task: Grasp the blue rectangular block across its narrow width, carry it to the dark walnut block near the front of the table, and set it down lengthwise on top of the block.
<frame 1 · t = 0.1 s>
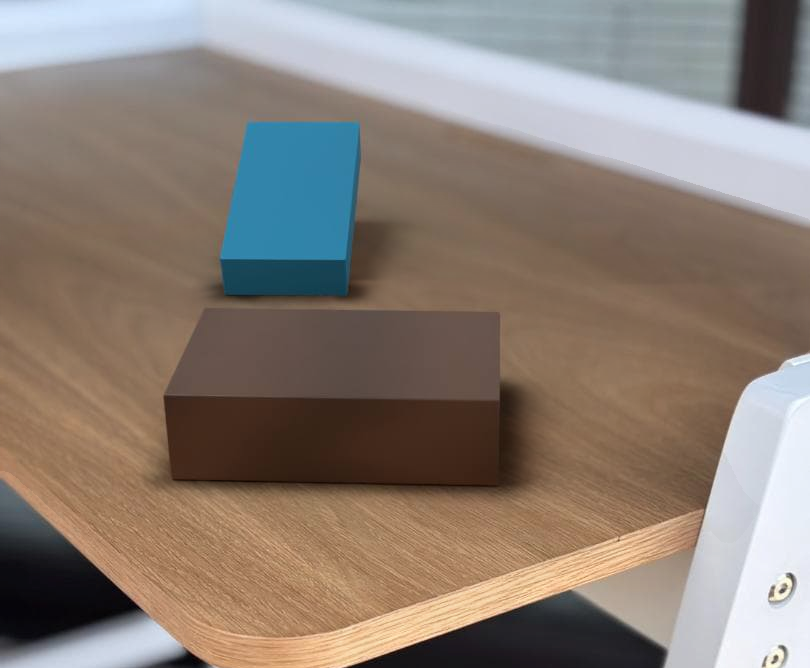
walnut block: (343, 431, 68), on the table
blue rectangular block: (300, 246, 91), on the table
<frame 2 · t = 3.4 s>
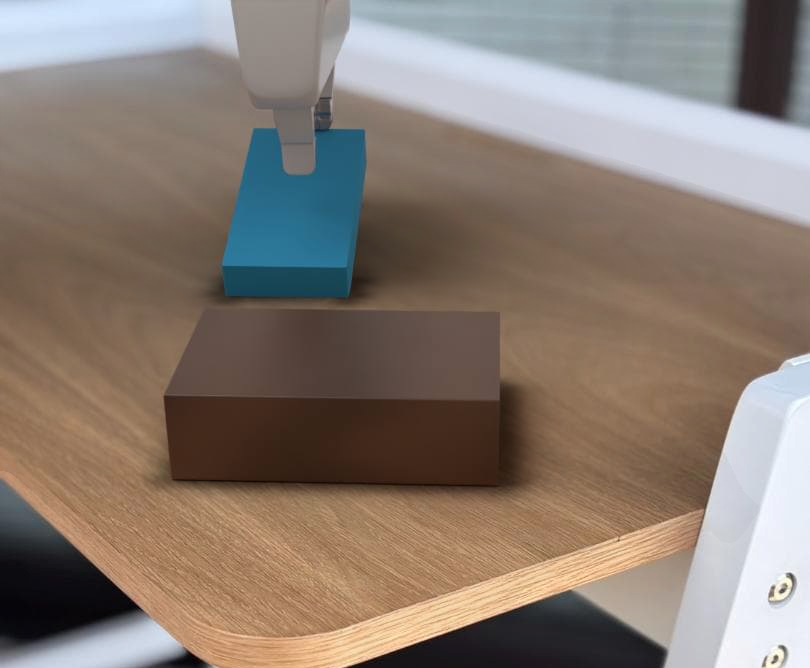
hand: (310, 148, 88), 6 cm above the table, tool pointing down, fingers open, 8 cm apart
blue rectangular block: (305, 253, 91), on the table, touching gripper
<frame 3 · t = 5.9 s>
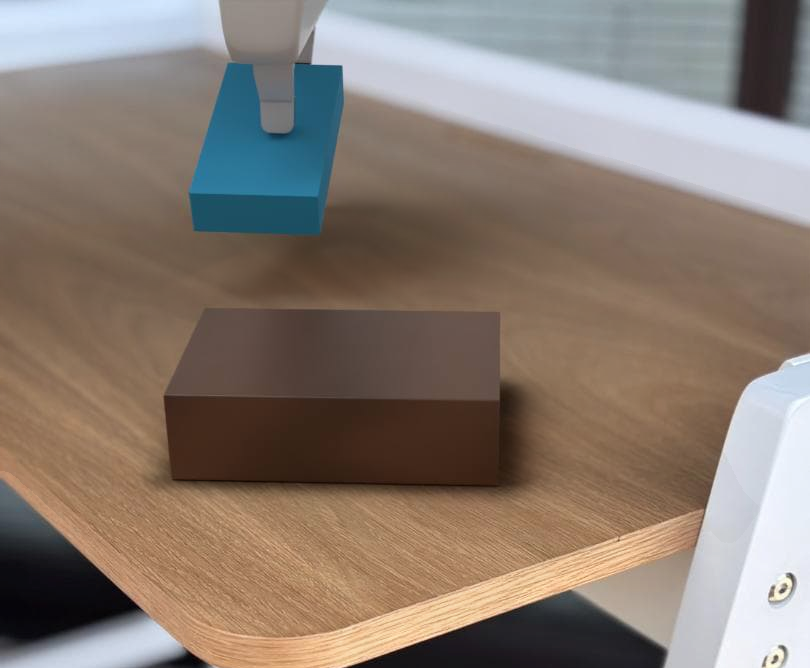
hand: (288, 111, 87), 8 cm above the table, tool pointing down, fingers closed on blue rectangular block, 7 cm apart
blue rectangular block: (278, 191, 89), point 3 cm above the table, touching gripper
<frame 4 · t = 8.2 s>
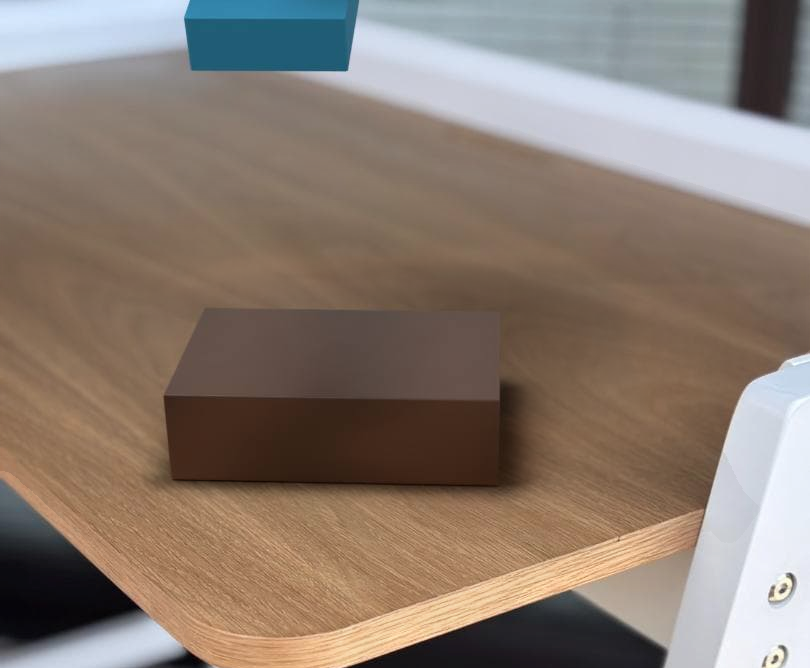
blue rectangular block: (293, 36, 73), point 15 cm above the table, touching gripper
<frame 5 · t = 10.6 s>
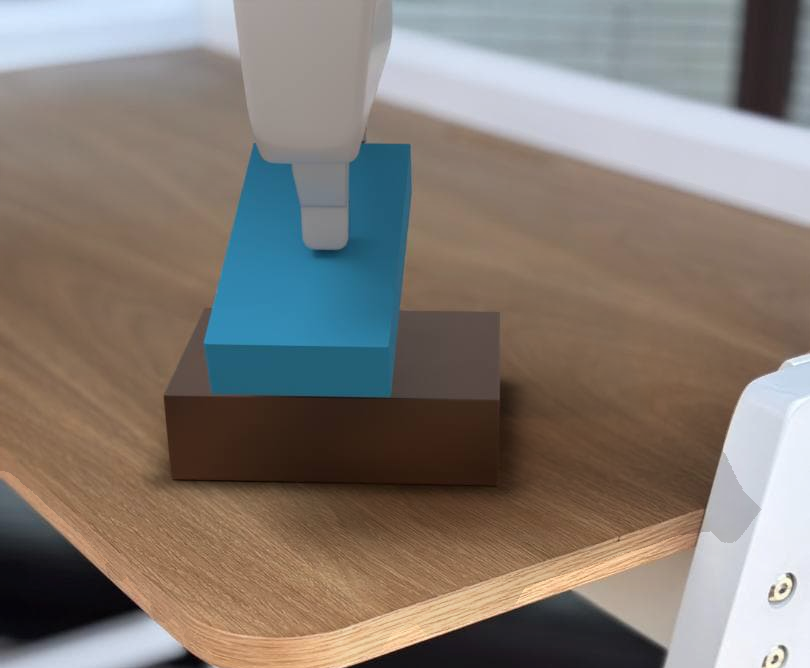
hand: (337, 211, 63), 10 cm above the table, tool pointing down, fingers closed on blue rectangular block, 7 cm apart
blue rectangular block: (325, 318, 65), point 6 cm above the table, touching gripper
when the fingers open (8 cm above the table, at t = 12.1 s): blue rectangular block stays where it is, resting on walnut block.
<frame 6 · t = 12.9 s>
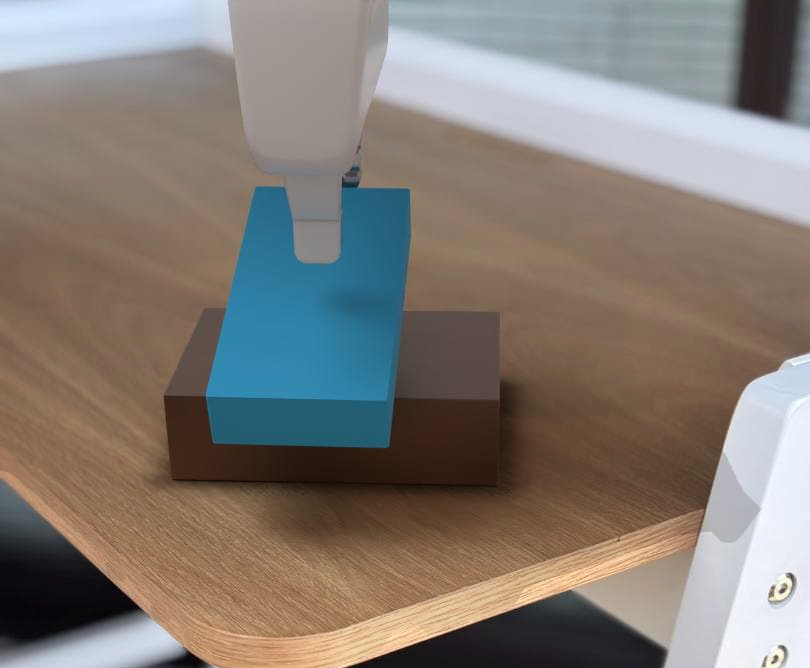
hand: (331, 220, 63), 10 cm above the table, tool pointing down, fingers open, 8 cm apart
blue rectangular block: (326, 361, 66), point 4 cm above the table, touching walnut block
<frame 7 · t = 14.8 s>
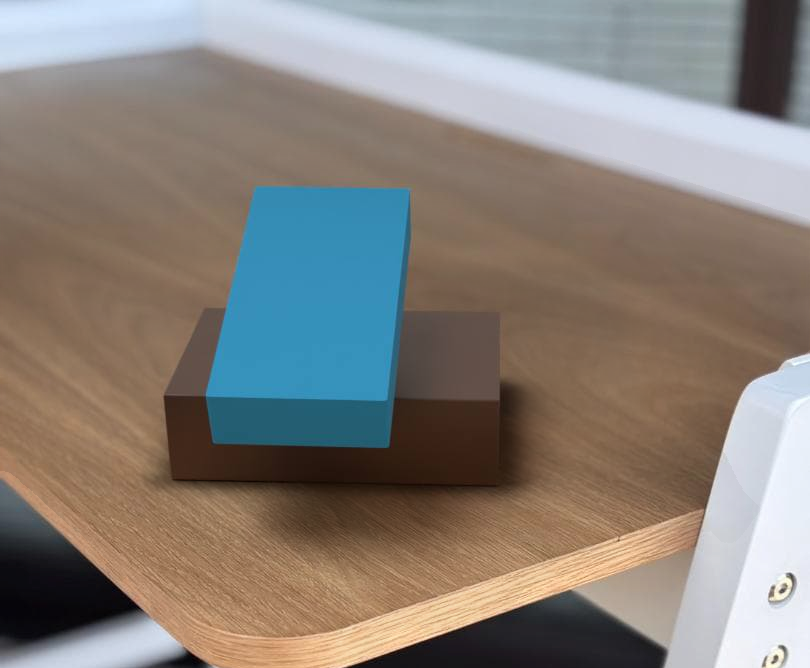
nothing on the table moved.
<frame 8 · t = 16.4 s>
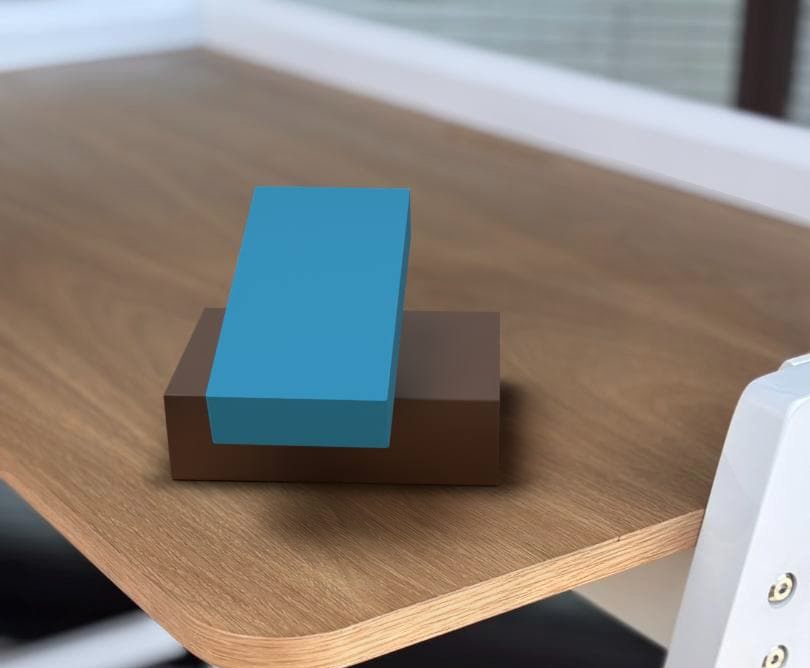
nothing on the table moved.
at the end: blue rectangular block inside the target area on the walnut block (1.0 cm from its centre), point 3.8 cm above the walnut block's base; blue rectangular block tilted 2°; the gripper is holding nothing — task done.
